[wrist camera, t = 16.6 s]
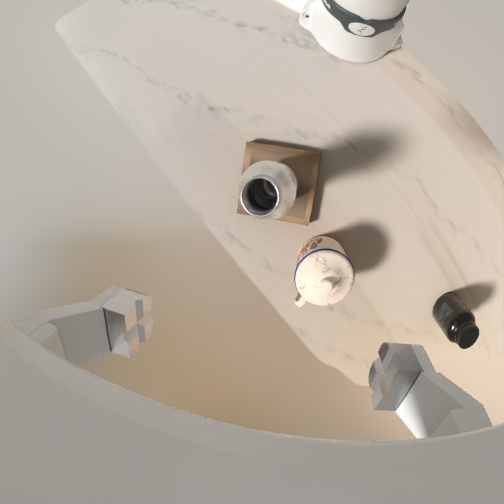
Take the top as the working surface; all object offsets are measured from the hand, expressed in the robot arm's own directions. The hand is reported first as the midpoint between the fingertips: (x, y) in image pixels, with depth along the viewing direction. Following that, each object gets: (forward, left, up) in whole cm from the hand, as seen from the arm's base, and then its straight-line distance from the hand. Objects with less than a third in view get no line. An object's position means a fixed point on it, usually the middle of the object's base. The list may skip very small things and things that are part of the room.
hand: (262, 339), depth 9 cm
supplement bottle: (+15, +36, -39) cm, 55 cm away
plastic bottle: (-2, -3, -37) cm, 37 cm away
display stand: (-2, -3, -39) cm, 39 cm away
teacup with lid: (+11, +6, -39) cm, 41 cm away
